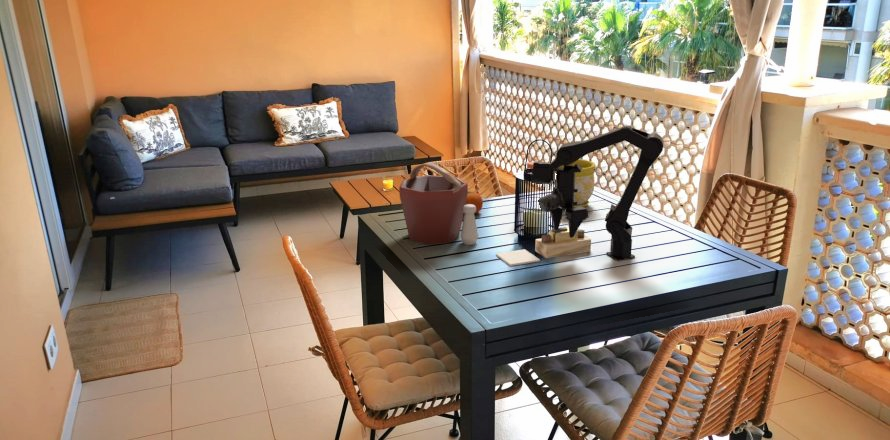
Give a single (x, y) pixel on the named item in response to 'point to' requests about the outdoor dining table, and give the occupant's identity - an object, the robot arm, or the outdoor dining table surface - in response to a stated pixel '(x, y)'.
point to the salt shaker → (469, 225)
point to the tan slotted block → (562, 235)
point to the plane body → (562, 246)
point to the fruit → (474, 200)
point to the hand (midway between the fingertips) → (563, 233)
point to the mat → (517, 257)
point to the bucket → (433, 205)
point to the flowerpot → (583, 182)
